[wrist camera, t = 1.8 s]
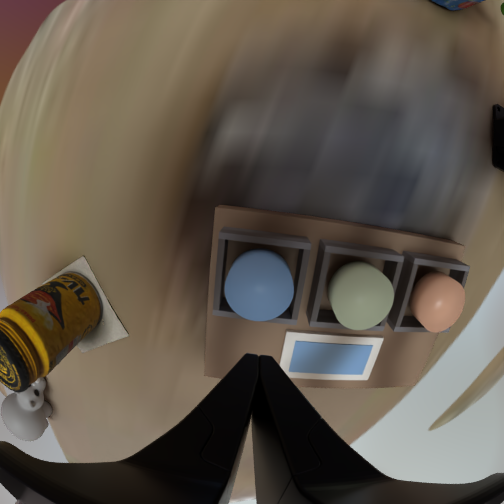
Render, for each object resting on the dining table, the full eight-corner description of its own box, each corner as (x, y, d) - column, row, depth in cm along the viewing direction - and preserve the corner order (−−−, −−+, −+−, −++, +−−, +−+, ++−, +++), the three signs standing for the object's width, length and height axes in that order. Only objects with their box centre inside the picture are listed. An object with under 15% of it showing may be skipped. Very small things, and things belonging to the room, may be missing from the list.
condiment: (84, 255, 23) (-12, 308, 11) (129, 334, 24) (64, 421, 13) (43, 282, 24) (-37, 333, 12) (83, 351, 25) (22, 421, 14)
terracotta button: (457, 273, 18) (471, 282, 16) (442, 320, 19) (454, 332, 17) (418, 268, 18) (431, 277, 16) (403, 319, 19) (414, 332, 17)
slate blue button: (295, 252, 18) (299, 262, 16) (285, 310, 19) (287, 324, 17) (231, 244, 18) (227, 253, 16) (226, 302, 19) (221, 316, 17)
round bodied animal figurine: (72, 383, 31) (47, 408, 22) (49, 431, 29) (28, 458, 20) (34, 351, 30) (3, 368, 21) (15, 402, 28) (-11, 424, 19)
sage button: (388, 264, 18) (400, 274, 16) (374, 317, 19) (383, 331, 17) (334, 257, 18) (341, 267, 16) (321, 313, 19) (327, 328, 17)
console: (452, 240, 20) (479, 252, 17) (408, 373, 24) (422, 398, 20) (220, 204, 21) (209, 211, 17) (208, 362, 24) (199, 390, 21)
